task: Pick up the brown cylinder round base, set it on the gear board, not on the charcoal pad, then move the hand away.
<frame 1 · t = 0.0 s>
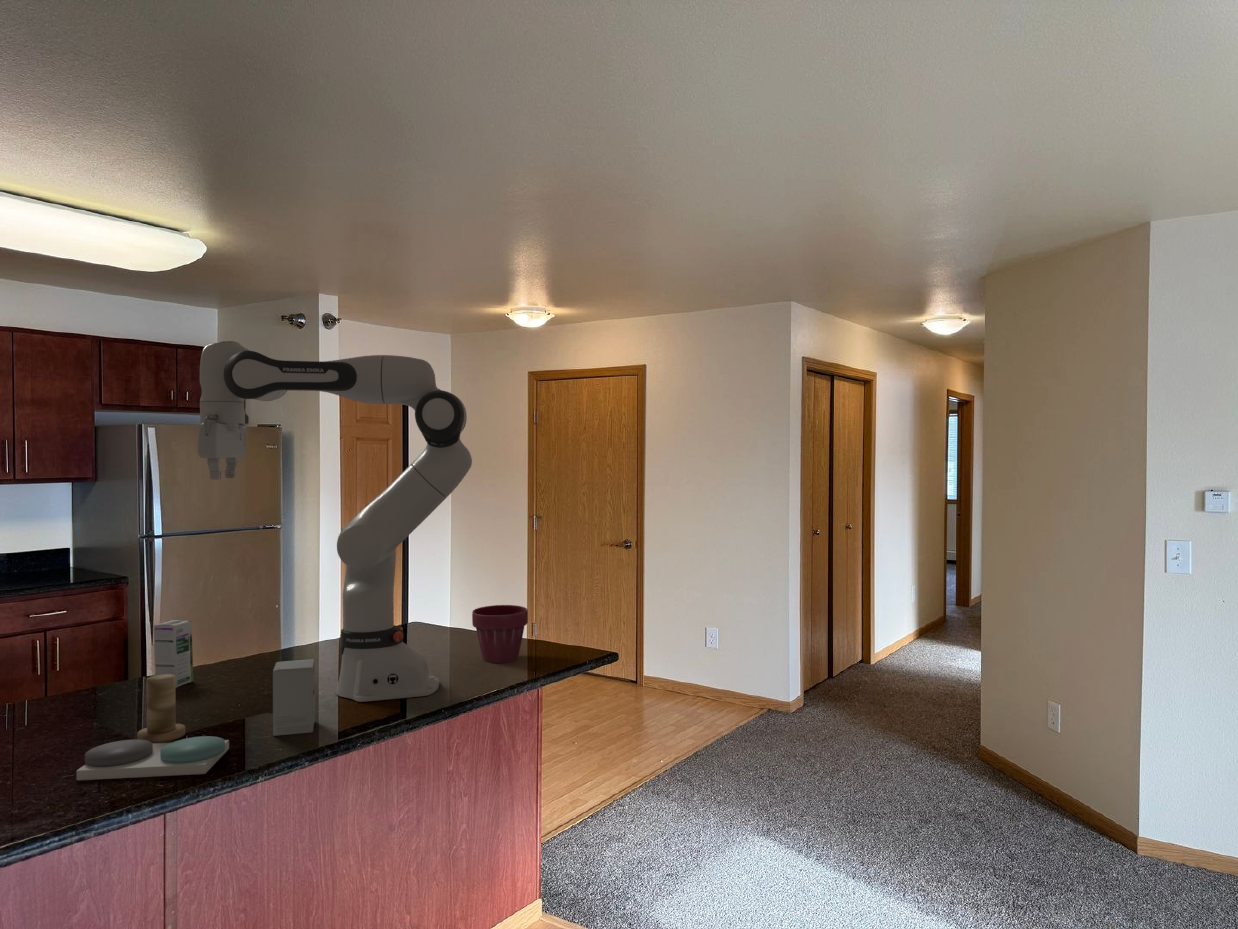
hand: (223, 478, 185), 48 cm above the table, tool pointing down, fingers open, 8 cm apart
syrup box: (174, 685, 196), on the table
plant pot: (500, 659, 218), on the table
brown cylinder round base: (161, 736, 160), on the table
supplement box: (294, 729, 164), on the table
gear board: (156, 763, 145), on the table
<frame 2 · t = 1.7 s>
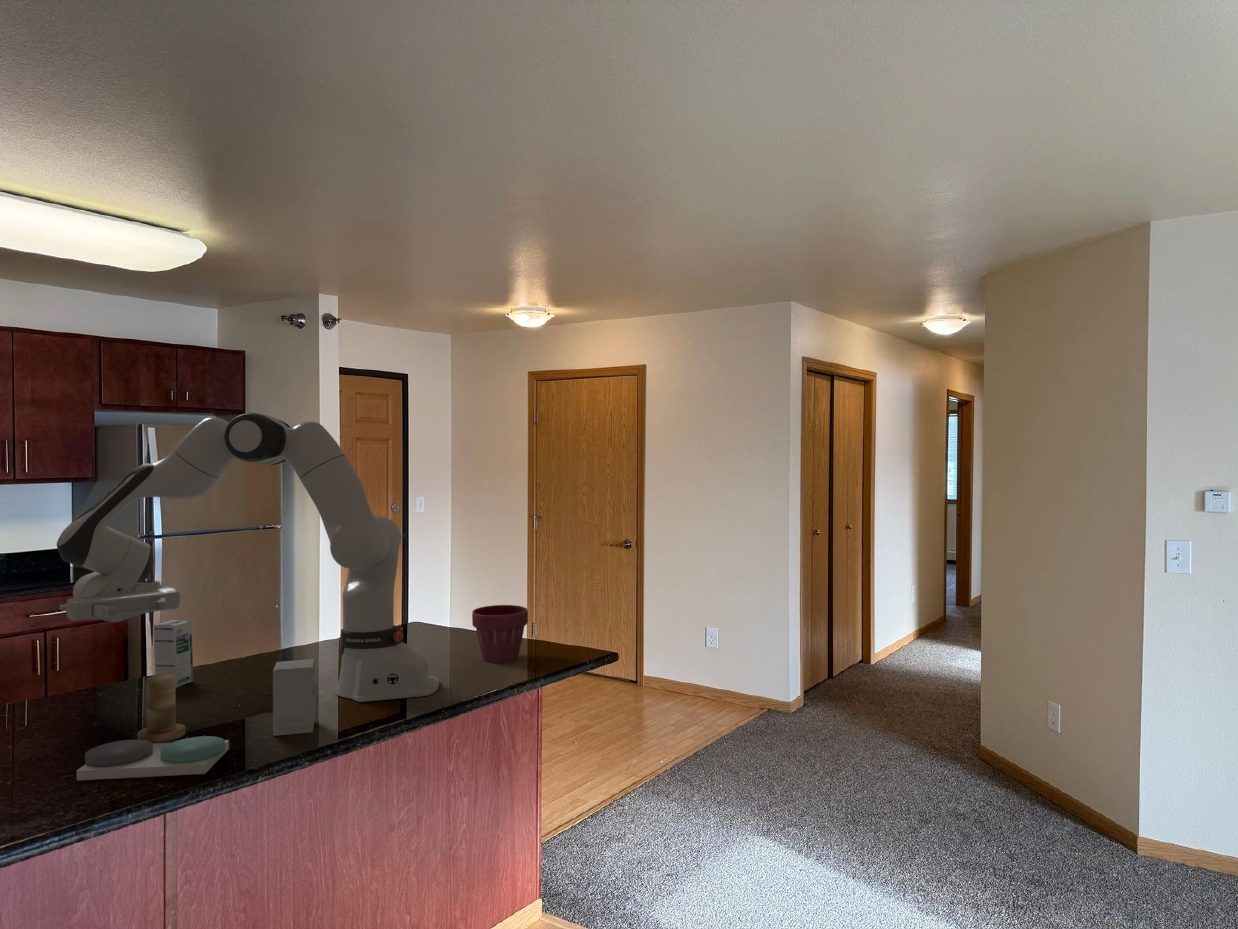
hand: (137, 609, 167), 23 cm above the table, tool horizontal, fingers open, 8 cm apart
nothing on the table moved.
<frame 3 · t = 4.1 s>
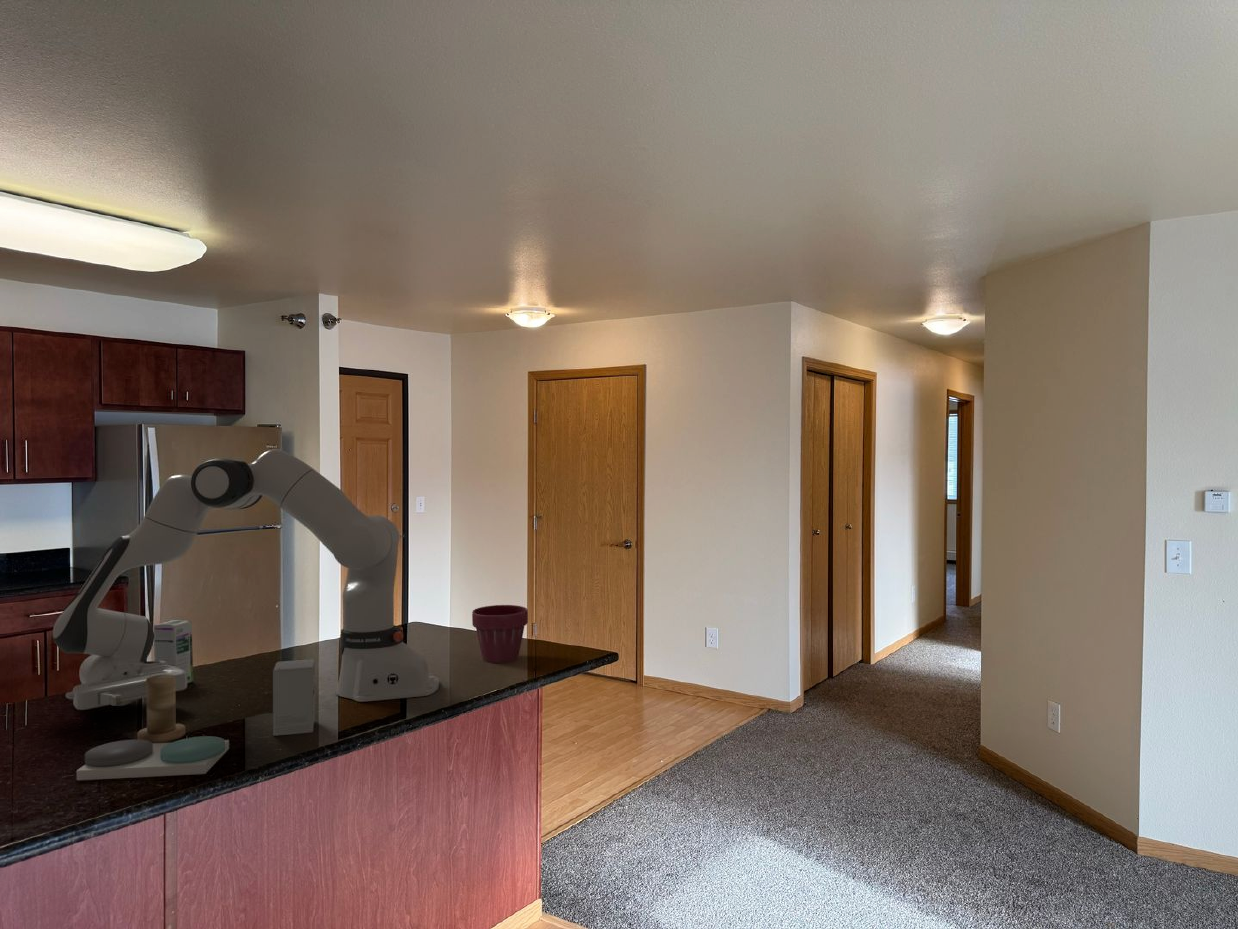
hand: (144, 695, 166), 6 cm above the table, tool horizontal, fingers open, 8 cm apart
nothing on the table moved.
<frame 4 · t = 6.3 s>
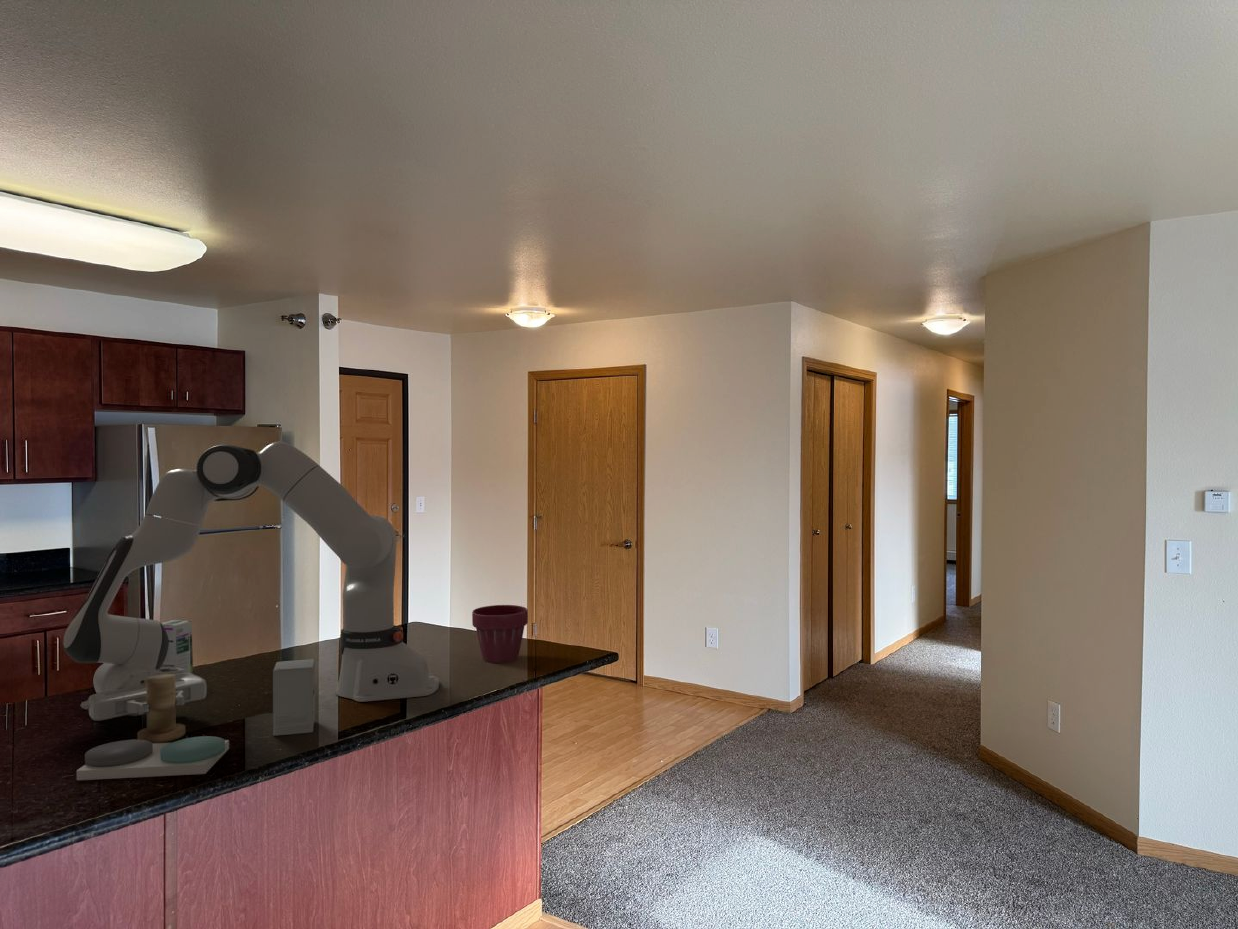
hand: (163, 705, 159), 6 cm above the table, tool horizontal, fingers closed on brown cylinder round base, 5 cm apart
brown cylinder round base: (161, 736, 160), on the table, touching gripper
everything else where it was.
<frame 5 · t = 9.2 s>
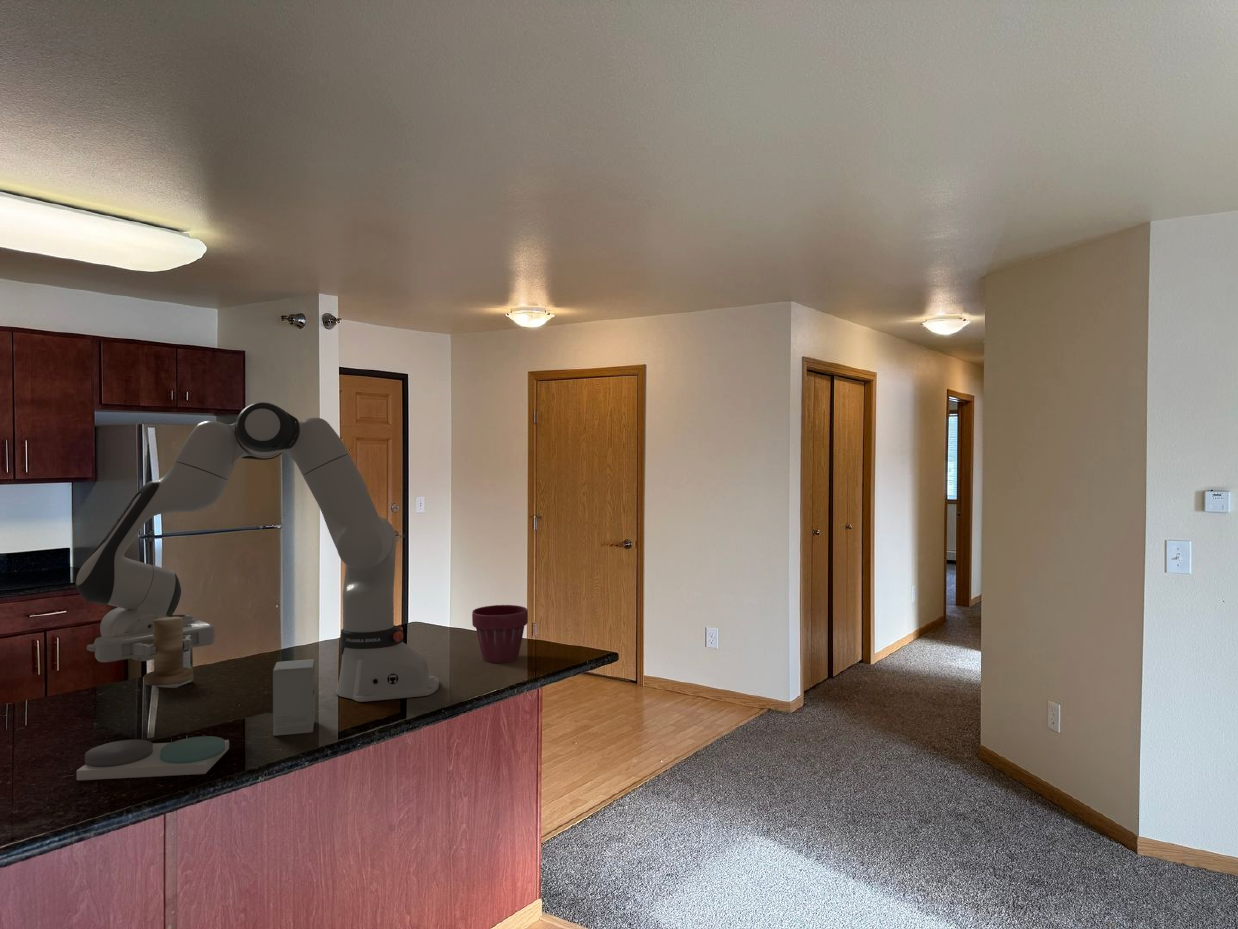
hand: (170, 648, 155), 18 cm above the table, tool horizontal, fingers closed on brown cylinder round base, 5 cm apart
brown cylinder round base: (169, 679, 156), point 12 cm above the table, touching gripper
everything else where it was.
when the fingers open (10 cm above the table, at t = 11.9 s): brown cylinder round base drops 1 cm, resting on gear board.
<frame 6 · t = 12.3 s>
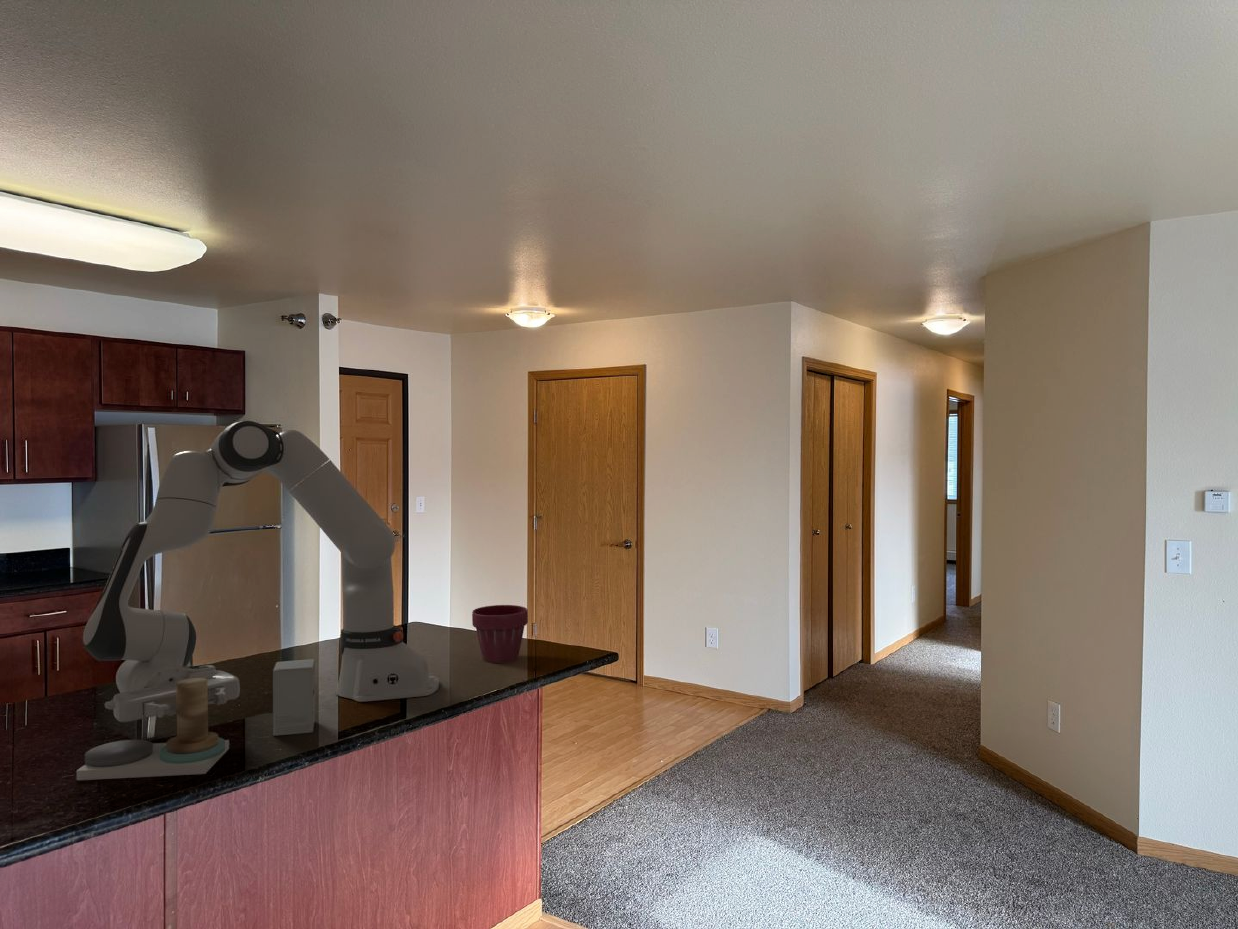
hand: (194, 705, 145), 10 cm above the table, tool horizontal, fingers open, 8 cm apart
brown cylinder round base: (192, 746, 146), point 3 cm above the table, touching gear board
everything else where it was.
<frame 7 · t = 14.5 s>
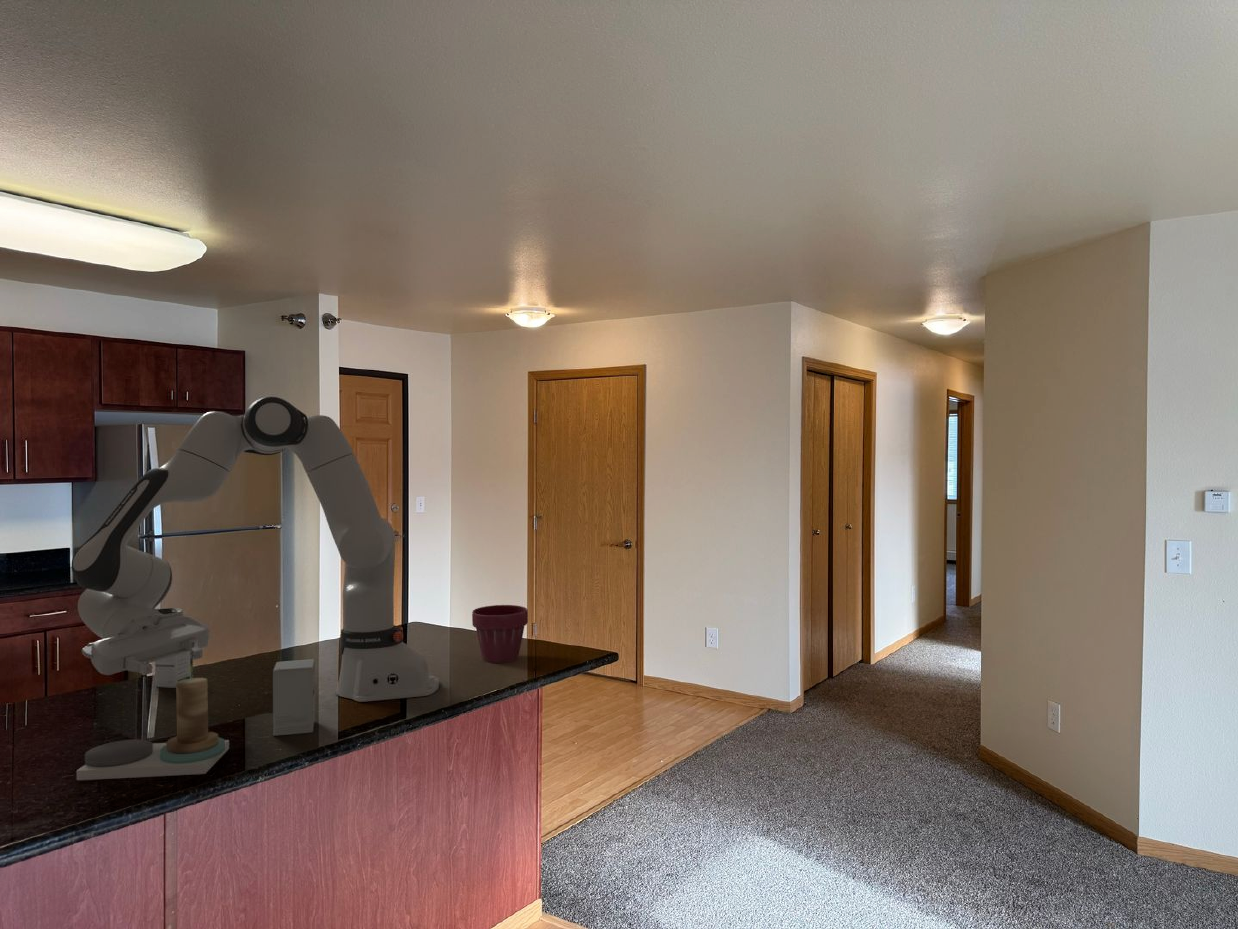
hand: (174, 663, 156), 15 cm above the table, tool tilted 70°, fingers open, 8 cm apart
nothing on the table moved.
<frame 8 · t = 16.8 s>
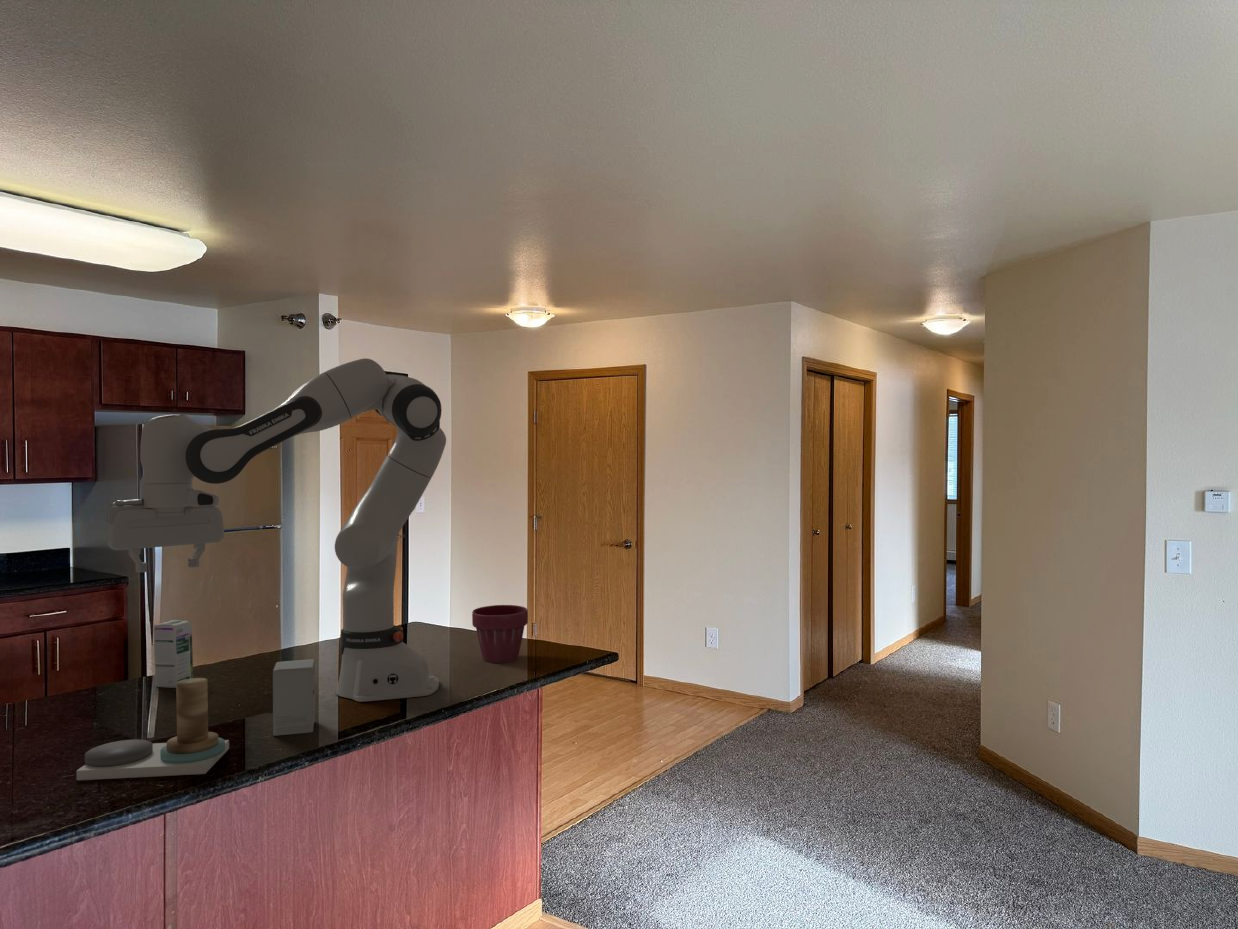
hand: (168, 569, 163), 31 cm above the table, tool pointing down, fingers open, 8 cm apart
nothing on the table moved.
at the end: brown cylinder round base inside the target area on the gear board (0.0 cm from its centre), point 2.8 cm above the gear board's base; brown cylinder round base tilted 0°; the gripper is holding nothing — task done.
